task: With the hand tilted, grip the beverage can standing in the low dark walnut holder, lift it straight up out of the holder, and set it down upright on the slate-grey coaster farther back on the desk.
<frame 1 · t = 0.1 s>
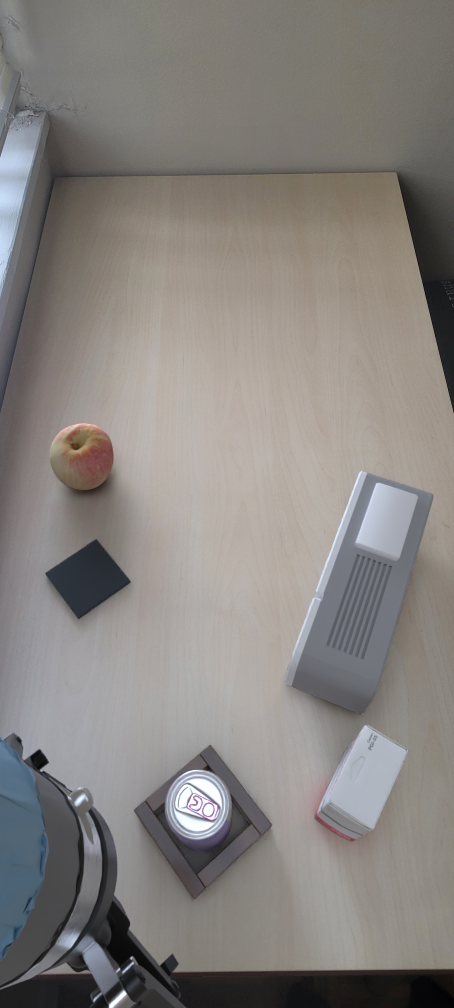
hand: (102, 882, 45), 24 cm above the table, tool pointing down, fingers open, 13 cm apart
apple: (88, 474, 92), on the table
ink box: (348, 793, 70), on the table
holder: (203, 820, 69), on the table
coaster: (88, 578, 84), on the table
alarm clock: (352, 606, 82), on the table
beverage can: (203, 821, 69), resting in holder
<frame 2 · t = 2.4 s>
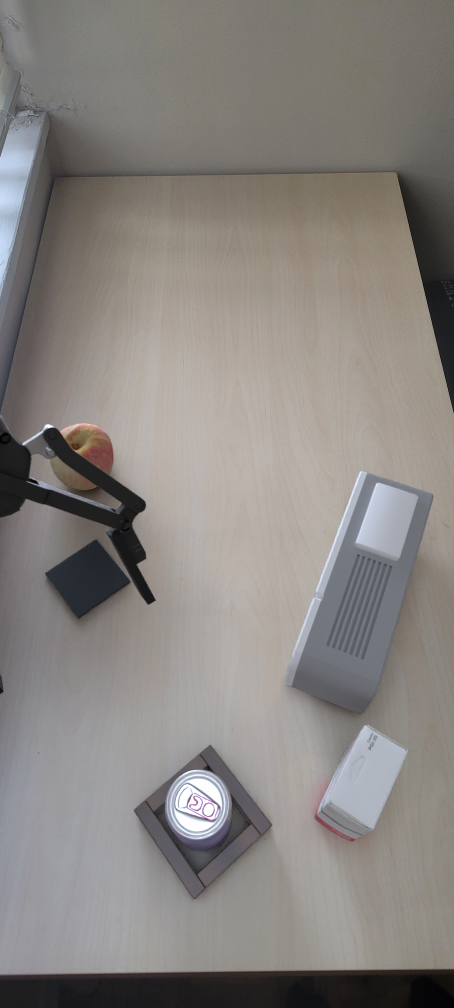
hand: (75, 641, 52), 26 cm above the table, tool tilted 40°, fingers open, 13 cm apart
nothing on the table moved.
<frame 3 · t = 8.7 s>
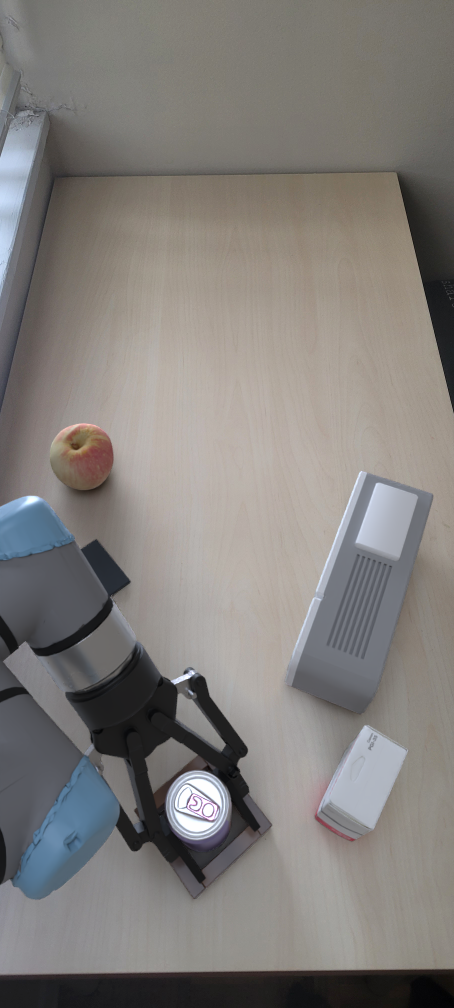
hand: (224, 846, 61), 7 cm above the table, tool tilted 45°, fingers closed on beverage can, 6 cm apart
beverage can: (203, 821, 69), resting in holder, touching gripper
everything else where it was.
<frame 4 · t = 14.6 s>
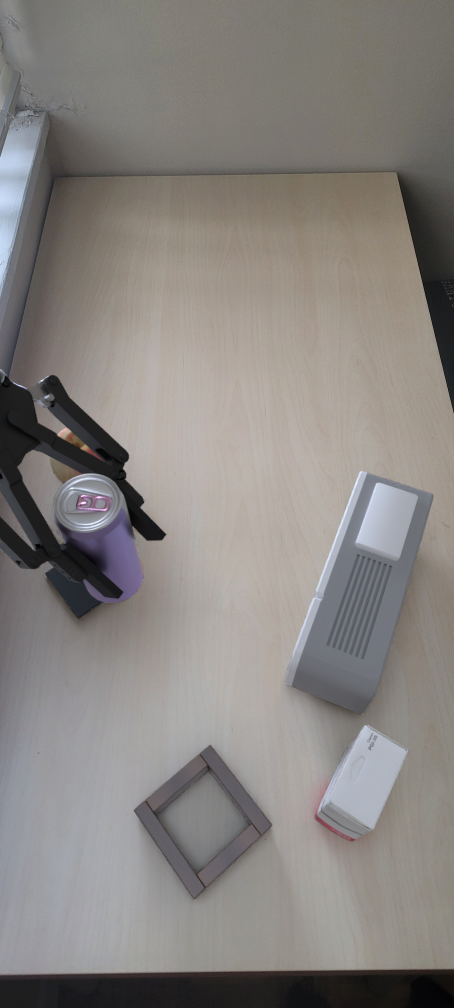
hand: (135, 565, 58), 24 cm above the table, tool tilted 45°, fingers closed on beverage can, 6 cm apart
beverage can: (115, 579, 65), point 17 cm above the table, touching gripper
everything else where it was.
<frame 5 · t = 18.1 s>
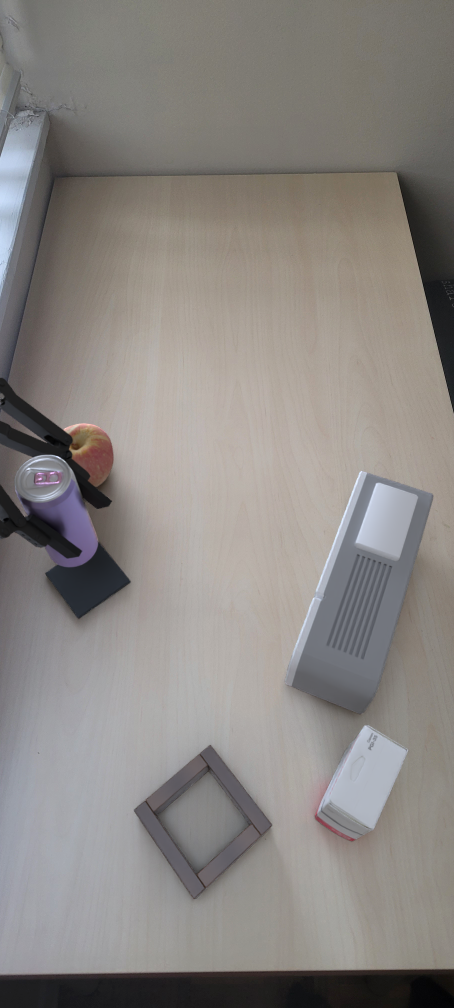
hand: (89, 529, 69), 16 cm above the table, tool tilted 45°, fingers closed on beverage can, 6 cm apart
beverage can: (74, 547, 76), point 9 cm above the table, touching gripper
everything else where it was.
when the fingers open (7 cm above the table, at t = 20.7 s): beverage can stays where it is, resting on coaster.
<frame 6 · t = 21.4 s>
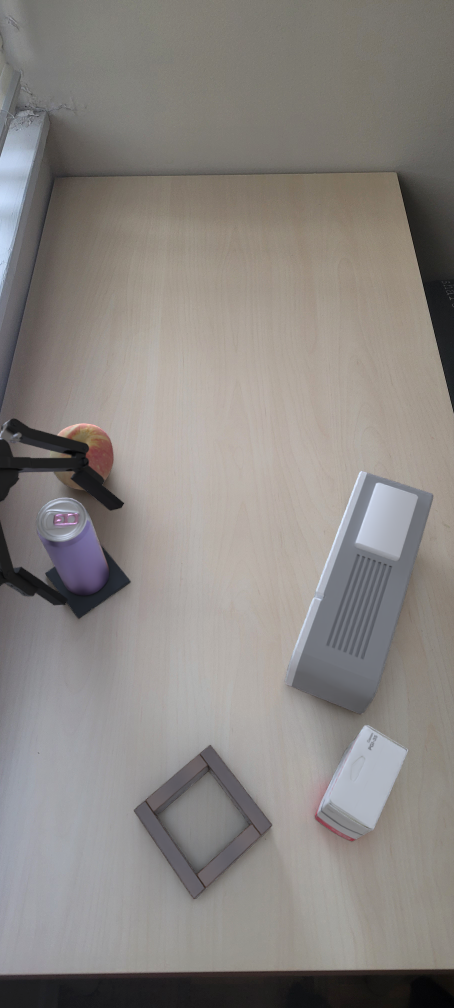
hand: (90, 552, 75), 9 cm above the table, tool tilted 45°, fingers open, 13 cm apart
beverage can: (87, 577, 83), resting on coaster
everything else where it was.
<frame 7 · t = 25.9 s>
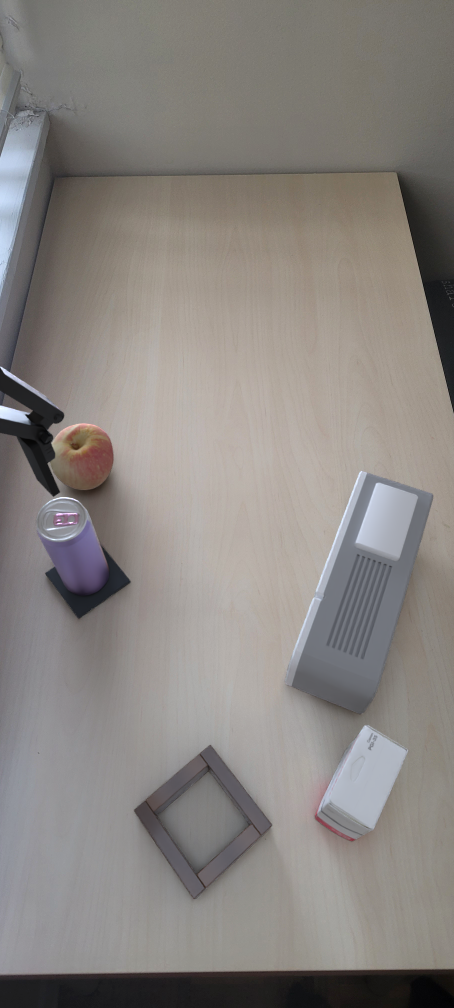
nothing on the table moved.
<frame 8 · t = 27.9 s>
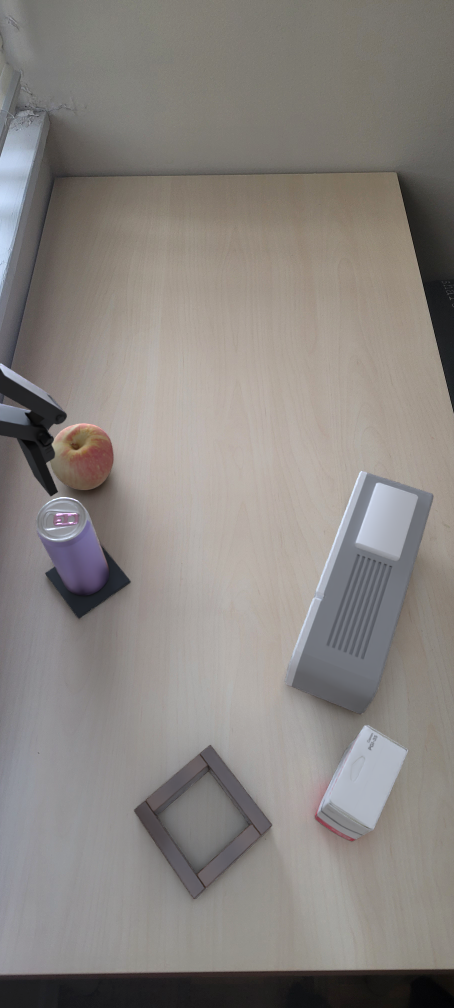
nothing on the table moved.
at the end: beverage can 0.0 cm off-centre on the coaster, point 0.4 cm above the coaster's base; beverage can tilted 0°; the gripper is holding nothing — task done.
